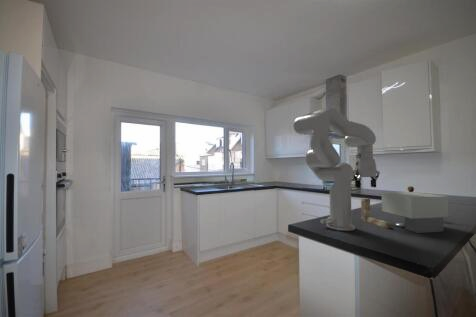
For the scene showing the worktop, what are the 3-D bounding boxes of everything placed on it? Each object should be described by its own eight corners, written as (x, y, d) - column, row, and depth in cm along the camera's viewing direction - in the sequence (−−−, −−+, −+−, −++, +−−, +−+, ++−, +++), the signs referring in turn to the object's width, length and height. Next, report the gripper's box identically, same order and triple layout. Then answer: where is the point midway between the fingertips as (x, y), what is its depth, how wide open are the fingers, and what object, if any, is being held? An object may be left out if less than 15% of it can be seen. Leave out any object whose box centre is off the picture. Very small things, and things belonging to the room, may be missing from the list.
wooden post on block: (361, 219, 117) (361, 198, 118) (366, 219, 118) (365, 198, 118) (385, 228, 102) (385, 203, 102) (391, 228, 102) (390, 203, 102)
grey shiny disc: (402, 227, 104) (402, 226, 104) (393, 224, 109) (393, 223, 109) (410, 227, 105) (410, 225, 105) (400, 224, 110) (400, 222, 110)
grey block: (411, 233, 95) (411, 197, 95) (381, 223, 111) (380, 192, 111) (448, 231, 98) (447, 196, 98) (413, 221, 114) (413, 191, 115)
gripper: (355, 156, 112) (356, 188, 112) (384, 156, 115) (385, 187, 115) (346, 156, 120) (347, 187, 119) (373, 156, 122) (374, 186, 122)
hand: (365, 187), depth 117 cm, fingers open, 9 cm apart
